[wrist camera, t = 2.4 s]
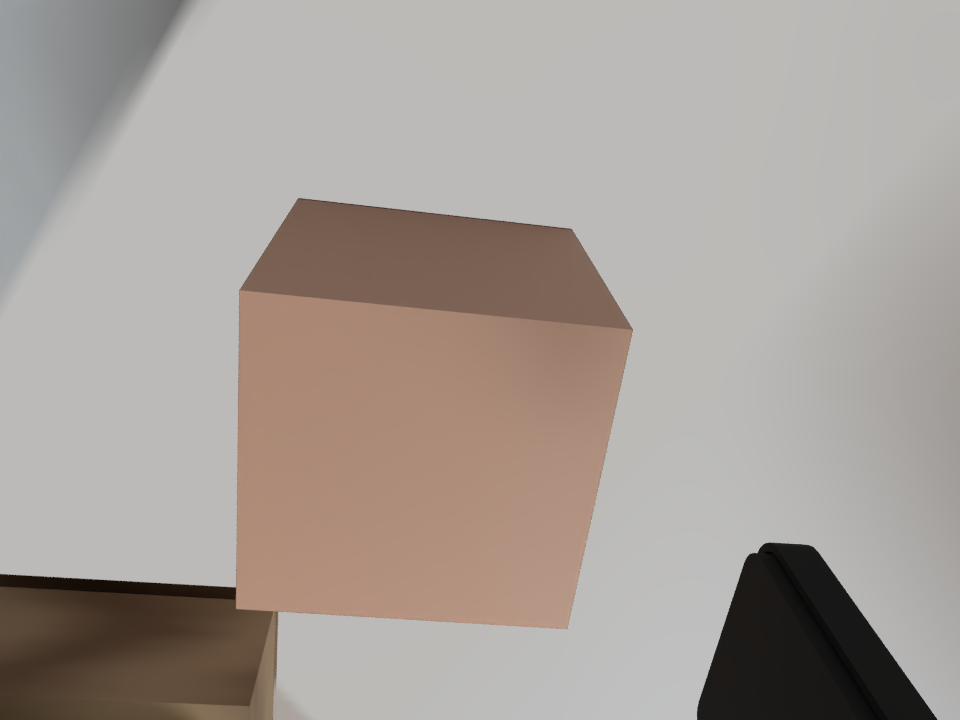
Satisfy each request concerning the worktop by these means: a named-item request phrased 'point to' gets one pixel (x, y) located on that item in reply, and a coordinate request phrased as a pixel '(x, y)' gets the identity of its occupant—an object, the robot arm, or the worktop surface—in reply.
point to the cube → (421, 416)
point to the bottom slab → (132, 651)
